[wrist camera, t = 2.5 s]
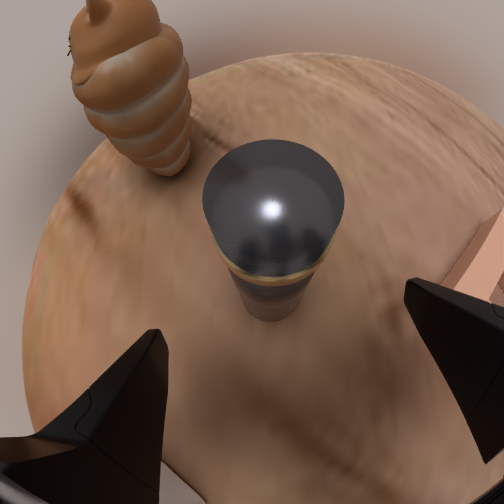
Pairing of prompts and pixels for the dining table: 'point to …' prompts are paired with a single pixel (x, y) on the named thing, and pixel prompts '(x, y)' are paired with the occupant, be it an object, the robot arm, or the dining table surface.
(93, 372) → the dining table surface
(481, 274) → the collar block
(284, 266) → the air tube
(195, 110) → the dining table surface
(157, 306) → the dining table surface
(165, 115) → the cat ice cream
